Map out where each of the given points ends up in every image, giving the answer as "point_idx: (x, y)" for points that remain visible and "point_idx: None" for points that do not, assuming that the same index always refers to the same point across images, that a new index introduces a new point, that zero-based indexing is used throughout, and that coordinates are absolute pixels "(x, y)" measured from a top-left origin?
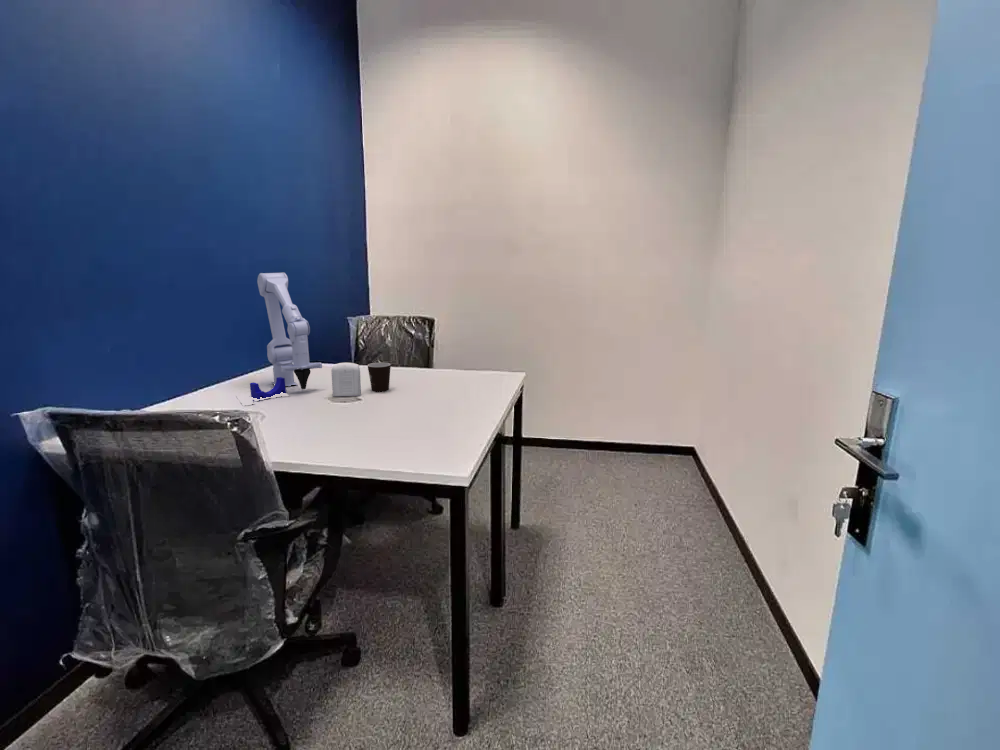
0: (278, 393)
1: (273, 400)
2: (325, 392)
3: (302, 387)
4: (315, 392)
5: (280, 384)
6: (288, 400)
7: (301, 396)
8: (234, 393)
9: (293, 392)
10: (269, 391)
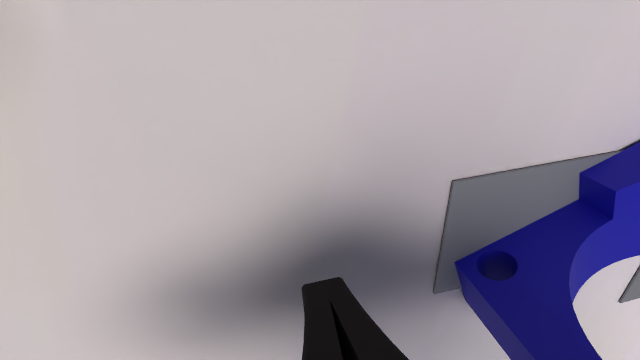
0: (530, 241)
1: (623, 88)
2: (67, 213)
3: (345, 288)
4: (199, 245)
5: (573, 319)
6: (538, 8)
7: (367, 133)
8: (636, 332)
9: (388, 290)
10: (593, 266)
